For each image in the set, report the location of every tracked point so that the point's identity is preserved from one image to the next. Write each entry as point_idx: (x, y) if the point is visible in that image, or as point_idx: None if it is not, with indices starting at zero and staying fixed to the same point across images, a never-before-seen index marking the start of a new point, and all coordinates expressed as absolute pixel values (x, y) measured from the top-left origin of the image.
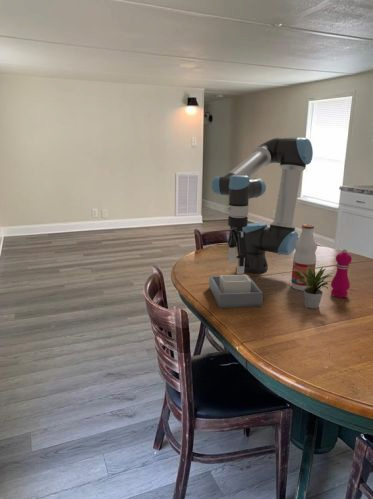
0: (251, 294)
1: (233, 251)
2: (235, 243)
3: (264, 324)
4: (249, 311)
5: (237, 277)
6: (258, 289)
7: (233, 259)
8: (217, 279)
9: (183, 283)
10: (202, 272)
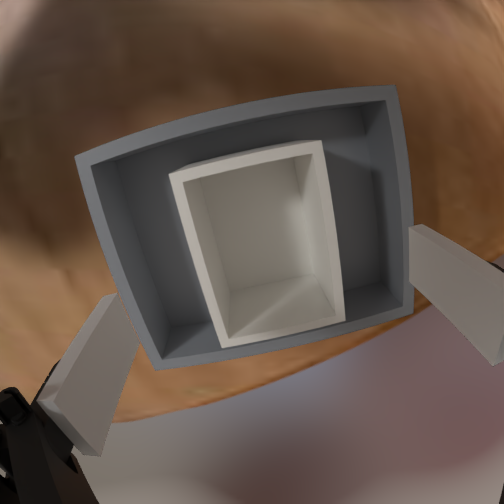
0: (404, 152)
1: (85, 389)
2: (54, 470)
3: (493, 133)
4: (416, 162)
5: (199, 231)
6: (346, 98)
7: (115, 327)
8: (154, 326)
9: (147, 409)
10: (17, 346)
